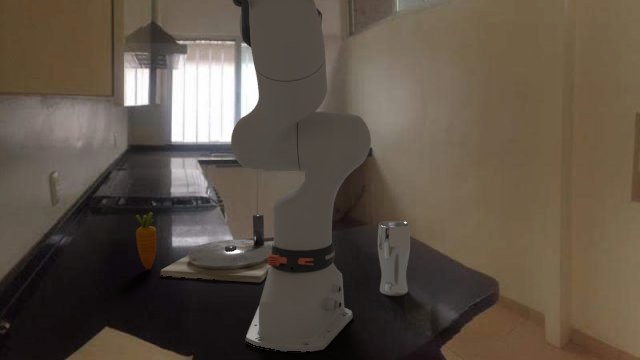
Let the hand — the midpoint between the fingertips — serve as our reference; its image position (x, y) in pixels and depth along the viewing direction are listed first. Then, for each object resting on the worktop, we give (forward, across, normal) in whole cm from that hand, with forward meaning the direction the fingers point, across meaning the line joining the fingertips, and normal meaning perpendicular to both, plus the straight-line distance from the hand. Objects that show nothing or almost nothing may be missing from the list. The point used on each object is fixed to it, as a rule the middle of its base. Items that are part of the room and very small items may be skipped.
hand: (301, 122), depth 118 cm
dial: (+35, -1, +20) cm, 41 cm away
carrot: (+37, -10, +39) cm, 55 cm away
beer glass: (+37, -14, -24) cm, 47 cm away
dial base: (+37, -1, +20) cm, 42 cm away
